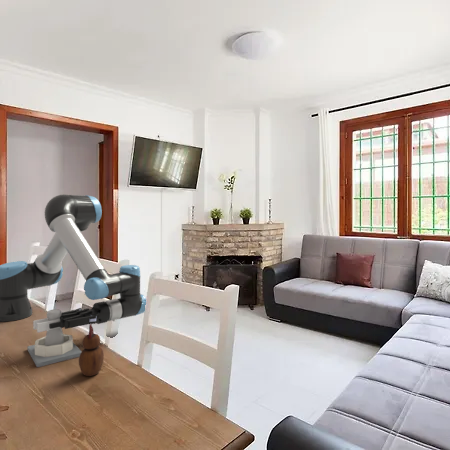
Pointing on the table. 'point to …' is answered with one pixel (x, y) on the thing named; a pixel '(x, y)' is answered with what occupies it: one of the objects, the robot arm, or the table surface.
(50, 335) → the salt shaker
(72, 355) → the slate board
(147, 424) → the table surface
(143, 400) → the table surface
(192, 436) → the table surface
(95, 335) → the wooden figurine
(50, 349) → the ring holder
